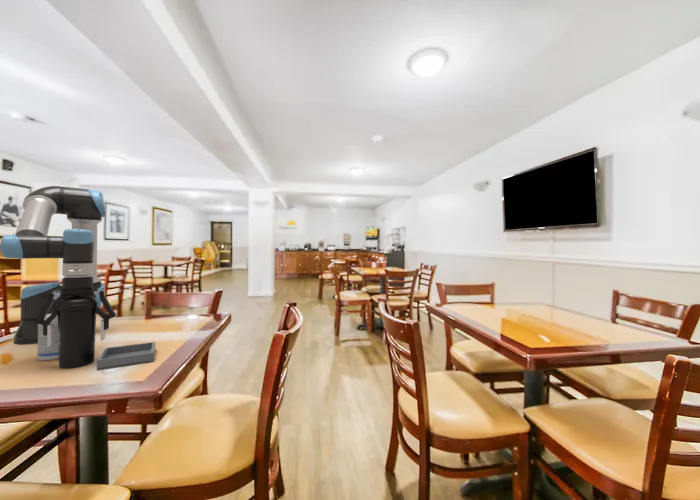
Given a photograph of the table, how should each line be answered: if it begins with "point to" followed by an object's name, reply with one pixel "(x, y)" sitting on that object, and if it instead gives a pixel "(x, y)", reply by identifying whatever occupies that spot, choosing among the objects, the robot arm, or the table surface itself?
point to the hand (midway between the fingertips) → (77, 342)
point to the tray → (126, 355)
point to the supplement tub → (43, 350)
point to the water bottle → (76, 330)
